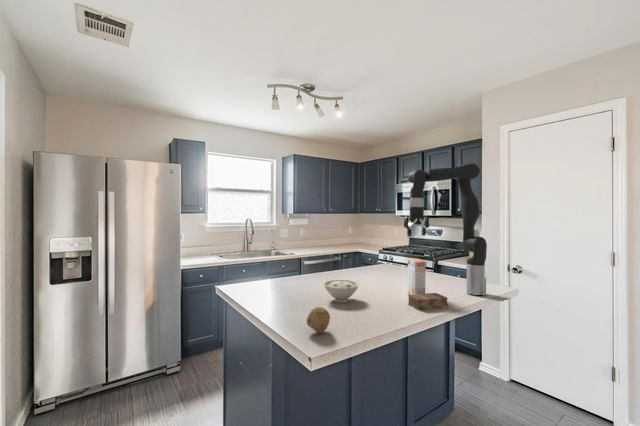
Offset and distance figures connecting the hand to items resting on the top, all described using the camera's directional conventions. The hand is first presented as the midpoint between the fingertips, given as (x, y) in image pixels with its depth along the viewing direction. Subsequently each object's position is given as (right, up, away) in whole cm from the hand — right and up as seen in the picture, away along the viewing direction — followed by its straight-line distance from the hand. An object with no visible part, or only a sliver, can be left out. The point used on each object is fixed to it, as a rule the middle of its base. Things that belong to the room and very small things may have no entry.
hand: (416, 235), depth 164 cm
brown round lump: (-54, -34, -48) cm, 80 cm away
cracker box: (0, -35, 0) cm, 35 cm away
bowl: (-42, -34, -5) cm, 55 cm away
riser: (+1, -34, -15) cm, 38 cm away
